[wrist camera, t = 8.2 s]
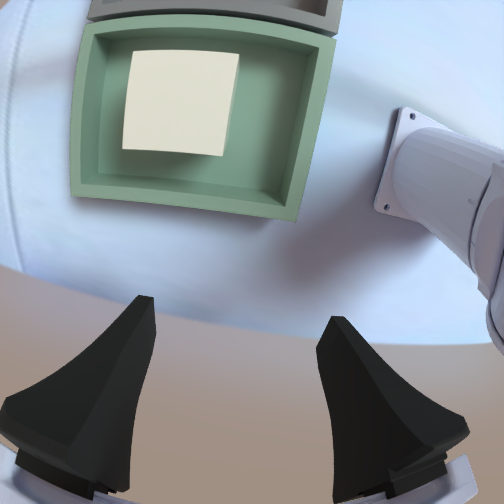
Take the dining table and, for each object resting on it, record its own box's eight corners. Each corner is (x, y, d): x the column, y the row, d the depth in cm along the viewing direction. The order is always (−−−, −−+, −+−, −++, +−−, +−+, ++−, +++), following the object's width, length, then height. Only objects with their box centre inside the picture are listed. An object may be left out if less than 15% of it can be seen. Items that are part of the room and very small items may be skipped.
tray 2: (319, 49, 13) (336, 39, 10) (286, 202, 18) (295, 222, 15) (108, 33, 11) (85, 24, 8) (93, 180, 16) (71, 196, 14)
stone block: (239, 68, 13) (239, 54, 9) (227, 142, 15) (222, 156, 11) (161, 64, 12) (133, 51, 8) (151, 136, 15) (122, 148, 11)
